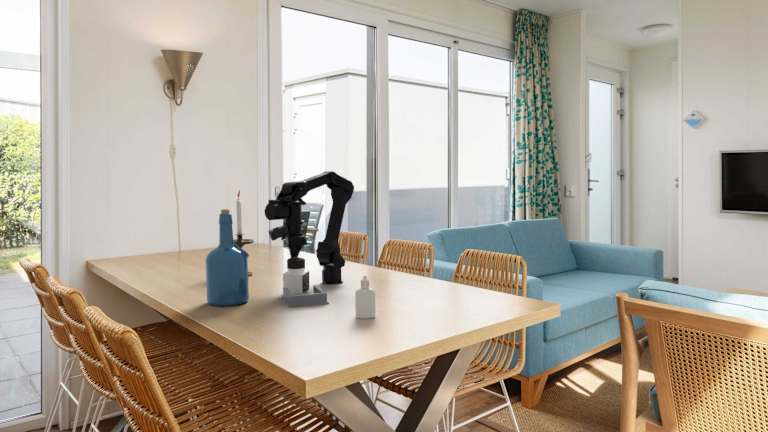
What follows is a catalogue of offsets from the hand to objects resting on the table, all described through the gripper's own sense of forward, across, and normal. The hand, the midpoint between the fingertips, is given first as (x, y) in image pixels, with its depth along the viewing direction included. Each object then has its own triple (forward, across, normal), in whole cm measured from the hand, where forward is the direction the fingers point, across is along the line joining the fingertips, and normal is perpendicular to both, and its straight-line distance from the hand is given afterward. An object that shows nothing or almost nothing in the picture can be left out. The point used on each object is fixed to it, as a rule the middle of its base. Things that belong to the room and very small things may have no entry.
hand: (293, 262), depth 195 cm
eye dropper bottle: (+10, +44, +13) cm, 47 cm away
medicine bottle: (+10, +4, 0) cm, 11 cm away
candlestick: (+11, -38, -15) cm, 43 cm away
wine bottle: (+10, +10, -22) cm, 27 cm away
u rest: (+10, +17, +1) cm, 19 cm away
